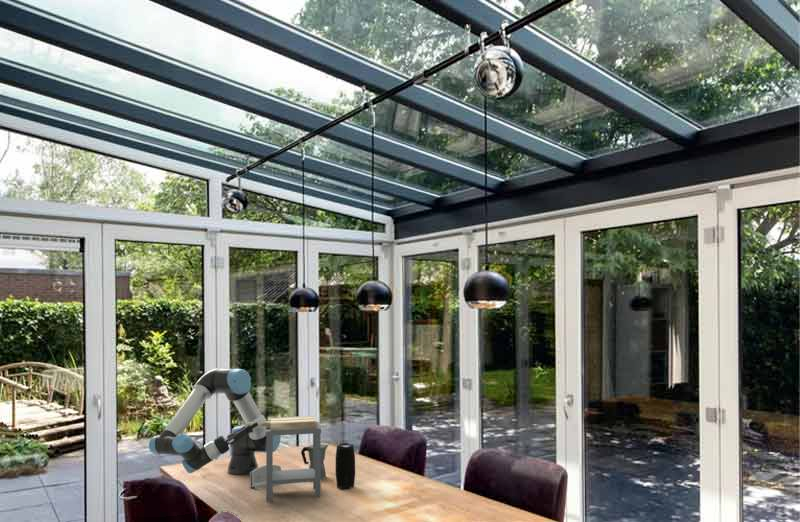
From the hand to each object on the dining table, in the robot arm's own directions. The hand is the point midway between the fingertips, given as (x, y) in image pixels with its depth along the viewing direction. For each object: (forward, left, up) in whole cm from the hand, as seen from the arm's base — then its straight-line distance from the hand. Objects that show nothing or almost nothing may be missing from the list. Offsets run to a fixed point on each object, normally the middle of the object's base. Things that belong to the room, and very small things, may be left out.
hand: (264, 418), depth 278 cm
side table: (0, +13, -34) cm, 36 cm away
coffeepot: (-26, +24, -34) cm, 49 cm away
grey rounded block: (-19, +1, -35) cm, 40 cm away
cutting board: (0, +7, -4) cm, 9 cm away
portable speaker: (-5, +37, -34) cm, 51 cm away
